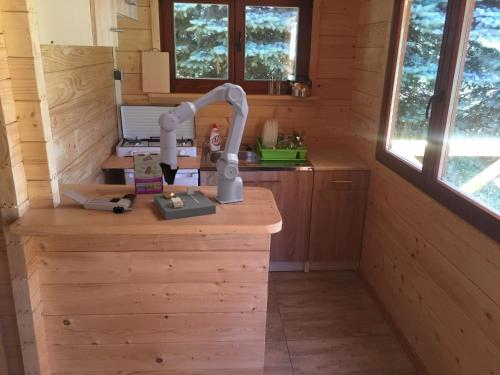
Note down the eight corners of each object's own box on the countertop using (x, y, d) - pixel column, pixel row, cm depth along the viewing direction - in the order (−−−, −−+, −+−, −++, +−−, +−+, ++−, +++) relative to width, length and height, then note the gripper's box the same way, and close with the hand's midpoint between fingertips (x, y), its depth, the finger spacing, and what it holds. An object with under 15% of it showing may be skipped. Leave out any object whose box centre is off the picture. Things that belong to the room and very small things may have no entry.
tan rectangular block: (192, 192, 160) (192, 185, 159) (194, 194, 159) (194, 186, 158) (186, 193, 159) (186, 185, 158) (187, 194, 158) (187, 187, 157)
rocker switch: (179, 199, 150) (179, 196, 149) (183, 206, 146) (183, 203, 145) (170, 200, 148) (170, 197, 148) (174, 207, 144) (174, 204, 144)
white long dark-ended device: (68, 188, 154) (135, 191, 152) (70, 203, 155) (136, 206, 154) (60, 193, 148) (130, 196, 147) (62, 209, 150) (131, 212, 149)
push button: (173, 198, 158) (172, 190, 157) (175, 201, 155) (175, 193, 154) (163, 199, 157) (163, 191, 156) (166, 202, 154) (165, 194, 153)
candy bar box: (162, 189, 173) (161, 150, 168) (163, 193, 169) (162, 153, 164) (134, 190, 170) (132, 151, 165) (134, 194, 166) (132, 154, 161)
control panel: (199, 197, 166) (199, 185, 164) (215, 213, 150) (215, 200, 149) (153, 202, 158) (153, 190, 157) (166, 220, 143) (165, 206, 141)
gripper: (152, 143, 154) (153, 178, 159) (162, 152, 142) (163, 190, 146) (171, 142, 157) (172, 177, 162) (182, 150, 145) (183, 188, 149)
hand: (169, 183), depth 154 cm, fingers open, 3 cm apart
